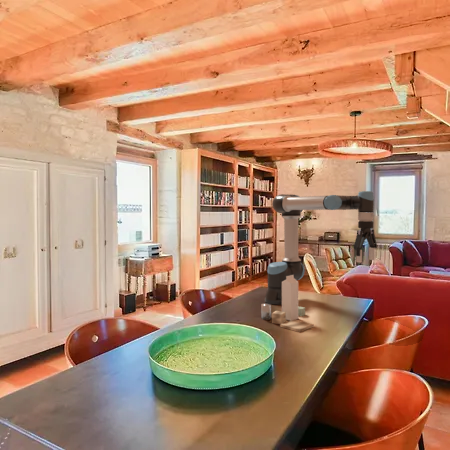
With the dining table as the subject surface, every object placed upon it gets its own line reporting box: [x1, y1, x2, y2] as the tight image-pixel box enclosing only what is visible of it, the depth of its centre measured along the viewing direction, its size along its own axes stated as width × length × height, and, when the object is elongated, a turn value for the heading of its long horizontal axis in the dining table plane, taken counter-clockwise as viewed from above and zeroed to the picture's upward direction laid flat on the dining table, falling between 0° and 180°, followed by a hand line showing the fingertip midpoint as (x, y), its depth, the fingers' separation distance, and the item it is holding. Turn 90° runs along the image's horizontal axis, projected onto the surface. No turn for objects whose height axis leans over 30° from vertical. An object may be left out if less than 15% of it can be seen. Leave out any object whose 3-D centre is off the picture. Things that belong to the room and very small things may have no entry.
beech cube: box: [271, 310, 287, 325], centre depth 182 cm, size 5×5×5 cm
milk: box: [281, 275, 299, 322], centre depth 188 cm, size 6×6×22 cm
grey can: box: [260, 302, 272, 321], centre depth 190 cm, size 5×5×7 cm
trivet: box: [279, 319, 314, 333], centre depth 175 cm, size 11×11×1 cm
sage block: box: [298, 305, 306, 317], centre depth 196 cm, size 7×4×4 cm, turn 53°
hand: (365, 261), depth 196 cm, fingers open, 13 cm apart
